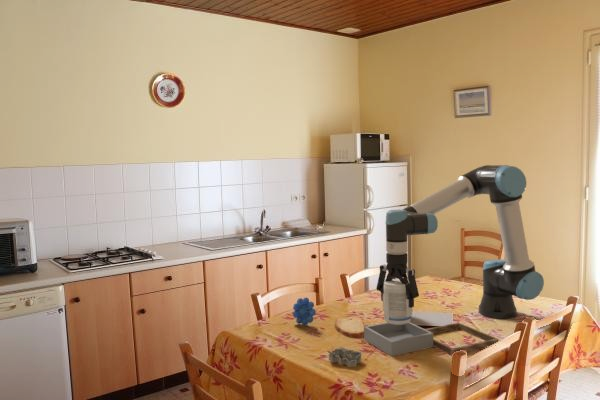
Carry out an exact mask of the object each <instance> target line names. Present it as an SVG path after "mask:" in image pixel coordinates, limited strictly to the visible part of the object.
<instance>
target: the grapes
mask: <svg viewBox="0 0 600 400" xmlns="http://www.w3.org/2000/svg"><path fill="white" fill-rule="evenodd" d="M314 307H315V303H314V302H313V301H311V300H310V299H309V298H308V297H304V298H302V297H300V298H297V300H296V303H294V304H293V306H292V309H293V310H294V311H293V312H292V317H293V318H296V319H295V320H296V323H297V324H299V325H300V324H302V325H303V326H307V325H308V324H311V323H313V321H314V316H315V315H316V309H314Z"/></svg>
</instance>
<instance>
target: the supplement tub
mask: <svg viewBox="0 0 600 400" xmlns="http://www.w3.org/2000/svg"><path fill="white" fill-rule="evenodd" d="M408 282H409V280H408ZM406 285H407V284H406ZM407 298H408V296H407V294H406V288H405V284H402V282H401V281H400V280H399V279H397V278H393V279H392V280H391V281H384V311H383V313H384V315H383V317H384V321H385V323H386V322H387V323H390V324H395V325H402V324H407V323H409V322H411V321H412V315H411V316H409V317H407V316H406V299H407Z"/></svg>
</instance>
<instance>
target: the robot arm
mask: <svg viewBox="0 0 600 400" xmlns="http://www.w3.org/2000/svg"><path fill="white" fill-rule="evenodd" d="M525 188H527V177H526V175H525V173H524V172H523V170H522V169H520V168H518V167H517V166H513V165H507V164H504V165H501V164H499V165H495V164H494V165H490V164H489V165H488V164H486V165H481V166H479V167H476V168H474V169H472V170H470V171H468V172H466V173H464V174H462V175H461V176H459V177H457V179H456V181H454V182H453V183H451V184H448V185H447V186H445V187H443V188H441V189H439V190H438V191H435V192H433V193H431V194H430V195H428V196H426V197H424V198H422V199H420V200H419V201H416V202H414V203H412V204H411V205H409V206H407V207H404V208H403V209H389V210H387V212H386V214H385V215H386V216H385V238H386V240H385V242H386V243H385V244H386V245H385V249H386V258H385V259H386V260H385V262H386V263H387V264H381V265H380V266H379V276H378V280H377V285H376V290H377V291H378V292H380V299H381V302H382V311H383V312H384V281H391V280H392V279H399V280H400V281H401V282H402V284H405V288H406V294H407V296H408V298H407V299H406V316H407V317H409V316H411V317H412V316H413V308H414V307H415V299H416V298H418V297H419V296H420V293H419V289H418V284H417V281H416V280H417V279H416V275H415V274H416V270H415V268H413V269H410V268H408V253H407V252H408V236H417V235H429V234H434V233H435V232H436V231H437V229H438V227H439V225H438V218H437V216H436V215H435V214H437V213H439V212H441V211H444V210H445V209H447V208H449V207H451V206H452V205H455V204H457V203H458V202H460V201H462V200H464V199H466V198H467V199H470V198H473V197H475V196H478V195H479V196H480V195H489V200H490V201H489V202H490V203H491V204H492V205H494V206H495V210H496V214H497V215H496V216H497V220H498V225H499V231H500V236H501V242H502V247H503V253H504V258H505V259H501V258H500V259H489V260H486V261H484V263H483V268H482V289H483V292H482V297H481V299H480V303H479V305H478V313H479V314H480V315H482V316H484V317H486V318H487V317H488V318H491V319H492V318H493V319H512V318H515V317H517V313H518V311H517V309H518V308H517V307H516V305H515V301H514V297H513V296H515V297H517V298H518V299H522V300H527V301H528V300H530V301H531V300H534V299H536V298H538V296H539V295H540V294H541V292H543V290H544V284H545V280H544V277H543V275H542V274H541V273H540V272H538V271H536V266H535V262H534V261H532V260H531V259H530V256H529V252H528V251H529V250H528V246H527V240H526V235H525V229H524V224H523V218H522V212H521V207H520V201H521V200H522V199H523V194H524V192H525ZM387 272H388V273H387ZM408 281H409V282H408ZM406 284H407V285H406Z"/></svg>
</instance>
